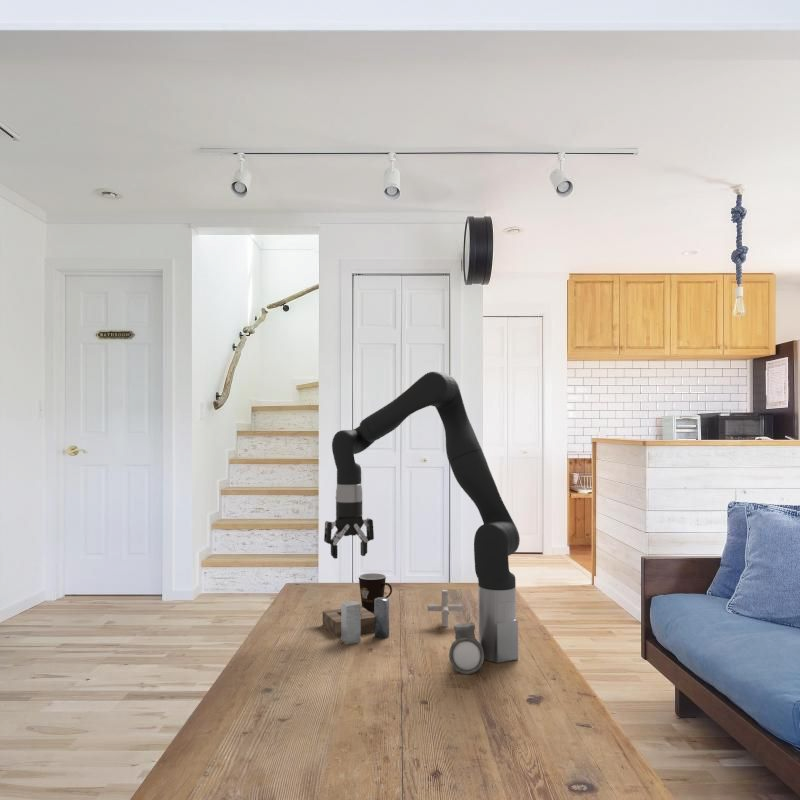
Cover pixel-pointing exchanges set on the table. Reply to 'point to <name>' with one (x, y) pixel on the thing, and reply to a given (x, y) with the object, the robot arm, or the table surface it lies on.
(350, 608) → the square bit
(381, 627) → the round bit
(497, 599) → the robot arm
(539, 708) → the table surface
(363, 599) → the coffee mug
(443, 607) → the pipe connector
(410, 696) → the table surface
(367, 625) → the socket block
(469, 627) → the pipe fitting
